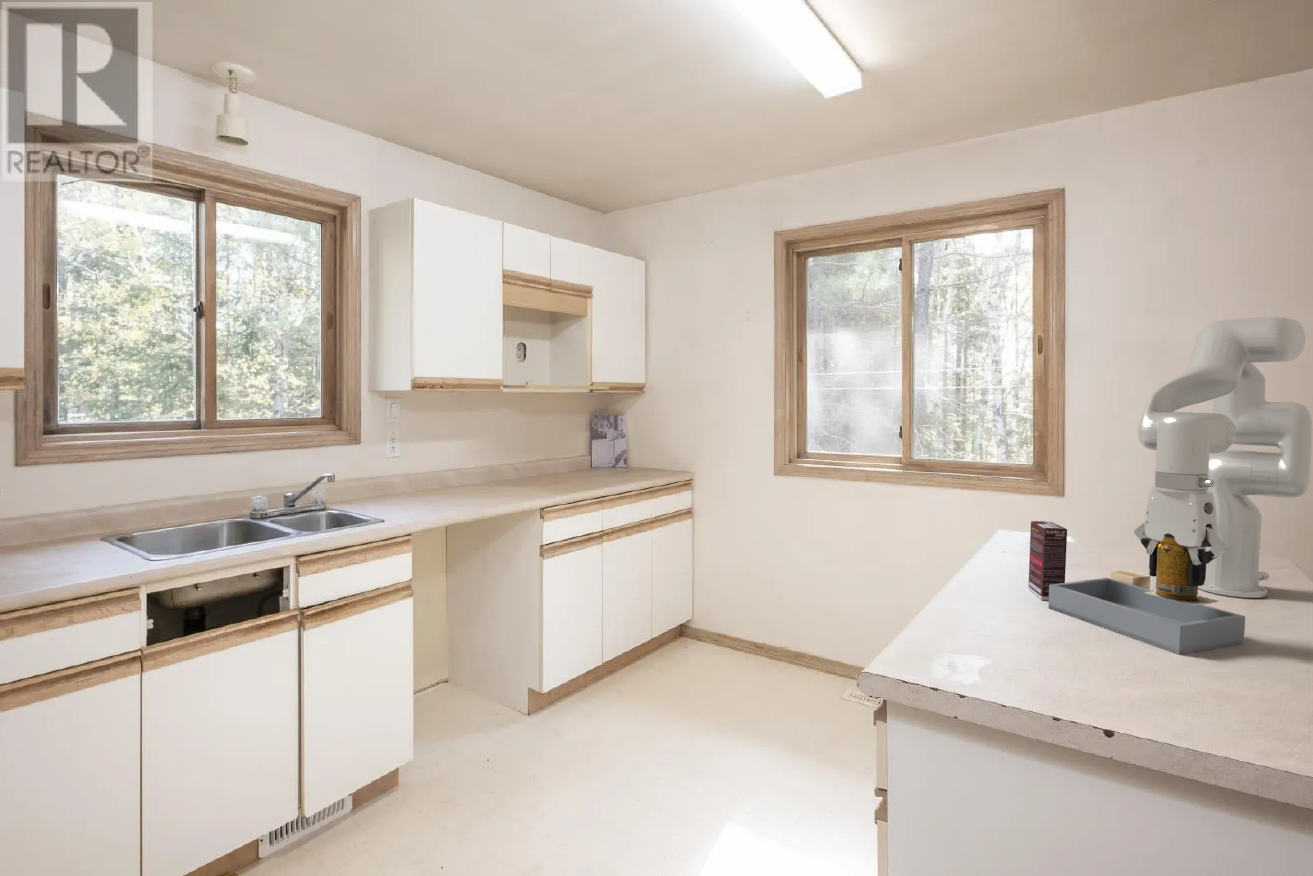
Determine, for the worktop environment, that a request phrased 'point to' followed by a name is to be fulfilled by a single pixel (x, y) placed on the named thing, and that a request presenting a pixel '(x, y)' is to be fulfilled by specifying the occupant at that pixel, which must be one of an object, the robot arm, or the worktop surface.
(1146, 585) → the cube
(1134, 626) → the tote
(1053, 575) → the supplement box
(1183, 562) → the condiment
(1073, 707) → the worktop surface
